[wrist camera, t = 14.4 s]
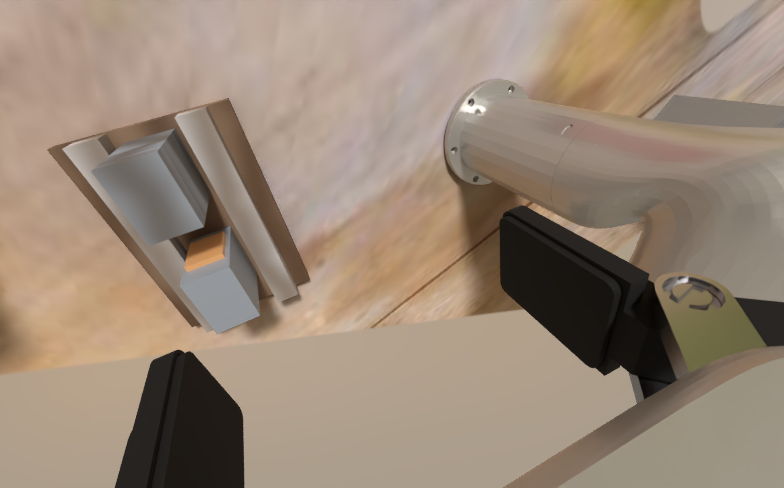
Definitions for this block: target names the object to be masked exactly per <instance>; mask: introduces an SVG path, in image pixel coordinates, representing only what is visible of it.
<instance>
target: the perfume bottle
mask: <svg viewBox="0 0 784 488" xmlns="http://www.w3.org/2000/svg"><path fill="white" fill-rule="evenodd" d="M654 120H659V121H666V122H674V123H682V124H694V125H709V126H725V127H762V128H784V106H775V105H765V104H756V103H746V102H737V101H727V100H717V99H708V98H698V97H689V96H679V95H674V96H673V97H672V99H671V100H670V101H669V102H668V103H667V104H666V106H665V107H664V108H663V109H662V110H661V112H660V113H659V114H658V115H657V116H656V118H655V119H654Z"/></svg>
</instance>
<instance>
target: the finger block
mask: <svg viewBox="0 0 784 488" xmlns="http://www.w3.org/2000/svg"><path fill="white" fill-rule="evenodd" d="M180 287H181V289H182V290H183V291H184V292H185V294H186V295H187V296H188V298H189V299H190V300H191V301H192V303H193V304H194V305H195V306H196V308H197V309H198V310H199V312H200V313H201V314H202V315H203V317H204V318H205V319H206V321H207V322H208V323H209V324H210V326H211V327H212V328H213V330H214V331H215V332H216V333H217V334H218V333H221V332H223V331H225V330H228V329H230V328H232V327H235V326H237V325H239V324H242V323H244V322H246V321H249V320H251V319H253V318H256V317H258V316H260V307H259V296H258V285H257V274H256V269H255V267H254V266H253V264H252V262H251V260H250V259H249V257H248V255H247V253H246V252H245V250H244V248H243V247H242V245H241V243H240V241H239V240H238V238H237V236H236V234H235V233H234V231H233V229H232V227H231V226H229V227H226V228H223V229H221V230H218V231H215V232H212V233H210V234H207V235H204V236H201V237H199V238H196V239H193V240H190V244H189V249H188V253H187V257H186V261H185V266H184V270H183V274H182V278H181V282H180Z"/></svg>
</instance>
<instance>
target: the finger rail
mask: <svg viewBox="0 0 784 488" xmlns="http://www.w3.org/2000/svg"><path fill="white" fill-rule="evenodd" d="M48 151H49V153H50V154H51V155H52V156H53V158H54V159H55V160H56V161H57V162H58V164H59V165H60V166H61V167H62V169H63V170H64V171H65V172H66V174H67V175H68V176H69V177H70V178H71V180H72V181H73V182H74V183H75V185H76V186H77V187H78V188H79V189H80V191H81V192H82V193H83V194H84V196H85V197H86V198H87V199H88V200H89V202H90V203H91V204H92V205H93V207H94V208H95V209H96V210H97V211H98V213H99V214H100V215H101V216H102V218H103V219H104V220H105V221H106V222H107V224H108V225H109V226H110V227H111V229H112V230H113V231H114V232H115V233H116V235H117V236H118V237H119V238H120V240H121V241H122V242H123V243H124V244H125V246H126V247H127V248H128V249H129V251H130V252H131V253H132V254H133V256H134V257H135V258H136V259H137V260H138V262H139V263H140V264H141V265H142V267H143V268H144V269H145V270H146V271H147V273H148V274H149V275H150V276H151V278H152V279H153V280H154V281H155V282H156V284H157V285H158V286H159V287H160V289H161V290H162V291H163V292H164V293H165V295H166V296H167V297H168V298H169V300H170V301H171V302H172V303H173V304H174V306H175V307H176V308H177V309H178V311H179V312H180V313H181V314H182V315H183V317H184V318H185V319H186V320H187V322H188V323H189V324H190V325H191V327H194V326H196V325H199V324H201V325H202V327H203V328H204V329H205V331H206V332H210V331H212V330H213V328H212V327H211V326H210V324H209V323H208V322H207V321H206V319H205V318H204V317H203V315H202V314H201V313H200V312H199V310H198V309H197V308H196V306H195V305H194V304H193V303H192V301H191V300H190V299H189V298H188V296H187V295H186V294H185V292H184V291H183V290H182V289H181V287H180V282H181V278H182V274H183V270H184V266H185V261H186V257H187V253H188V249H189V244H190V240H193V239H196V238H199V237H201V236H204V235H207V234H210V233H212V232H215V231H218V230H221V229H223V228H226V227H229V226H231V227H232V229H233V231H234V233H235V234H236V236H237V238H238V240H239V241H240V243H241V245H242V247H243V248H244V250H245V252H246V253H247V255H248V257H249V259H250V260H251V262H252V264H253V266H254V267H255V269H256V274H257V285H258V296H259V300H260V299H262V298H265V297H267V296H270V295H272V294H273V295H274V297H275V299H276V300H277V302H278V303H279V302H281V301H284V300H286V299H289V298H291V297H293V296H296V295H298V292H297V288H296V284H299V283H301V282H304V281H306V280H309V279H310V278H309V275H308V273H307V270H306V268H305V266H304V264H303V262H302V259H301V257H300V255H299V253H298V251H297V248H296V246H295V244H294V242H293V239H292V237H291V235H290V233H289V231H288V228H287V226H286V224H285V222H284V220H283V217H282V215H281V213H280V211H279V209H278V206H277V204H276V202H275V200H274V198H273V195H272V193H271V191H270V189H269V187H268V184H267V182H266V180H265V178H264V175H263V173H262V171H261V169H260V167H259V164H258V162H257V160H256V158H255V156H254V153H253V151H252V149H251V147H250V145H249V142H248V140H247V138H246V136H245V134H244V131H243V129H242V127H241V125H240V123H239V120H238V118H237V116H236V114H235V111H234V109H233V107H232V105H231V103H230V100H229V98H228V99H224V100H221V101H217V102H213V103H210V104H206V105H202V106H199V107H195V108H191V109H188V110H184V111H181V112H177V113H173V114H170V115H166V116H162V117H159V118H155V119H151V120H148V121H144V122H141V123H137V124H133V125H130V126H126V127H122V128H119V129H115V130H111V131H108V132H104V133H100V134H97V135H93V136H90V137H86V138H82V139H79V140H75V141H71V142H68V143H64V144H60V145H57V146H54V147H52V148H50V149H48Z"/></svg>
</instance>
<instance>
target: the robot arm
mask: <svg viewBox="0 0 784 488" xmlns="http://www.w3.org/2000/svg"><path fill="white" fill-rule="evenodd" d="M444 145H445V155H446V159H447V162H448V164H449V166H450V168H451V170H452V171H453V172H454V174H455V175H456V176H458V177H459V178H460V179H462V180H463V181H465V182H467V183H470V184H473V185H486V184H490V183H493V182H494V183H496V184H498V185H500V186H502V187H504V188H506V189H508V190H510V191H512V192H514V193H516V194H518V195H520V196H521V197H523V198H525V199H527V200H529V201H531V202H533V203H535V204H537V205H539V206H541V207H543V208H545V209H547V210H549V211H551V212H553V213H554V214H556V215H558V216H560V217H562V218H565V219H566V220H568V221H570V222H572V223H575V224H577V225H580V226H583V227H588V228H596V229H601V228H612V227H617V226H622V225H626V224H630V223H634V222H638V221H641V220H643V223H644V227H643V231H642V233H641V236H640V238H639V240H638V242H637V246H636V248H635V250H634V252H633V254H632V256H631V258H630V260H629V262H627V261H625V260H623V259H621V258H619V257H618V256H616V255H614V254H612V253H610V252H608V251H607V250H605V249H603V248H601V247H599V246H597V245H595V244H594V243H592V242H590V241H588V240H586V239H584V238H583V237H581V236H579V235H577V234H575V233H573V232H572V231H570V230H568V229H566V228H564V227H562V226H560V225H559V224H557V223H555V222H553V221H551V220H549V219H548V218H546V217H544V216H542V215H540V214H538V213H536V212H535V211H533V210H531V209H529V208H527V207H525V206H519V207H516V208H514V209H511V210H509V211H507V212H505V213H504V214H503V218H502V219H501V220H500V277H501V286H502V288H503V289H504V291H505V292H506V293H507V294H508V295H509V296H510V297H511V298H513V299H514V300H515V301H516V302H517V303H518V304H519V305H520V306H521V307H523V308H524V309H525V310H526V311H527V312H528V313H529V314H530V315H531V316H533V317H534V318H535V319H536V320H537V321H538V322H539V323H540V324H542V325H543V326H544V327H545V328H546V329H547V330H548V331H549V332H550V333H551V334H553V335H554V336H555V337H556V338H557V339H558V340H559V341H560V342H561V343H562V344H564V345H565V346H566V347H567V348H568V349H569V350H570V351H571V352H572V353H574V354H575V355H576V356H577V357H578V358H579V359H580V360H581V361H583V362H584V363H585V364H586V365H587V366H589V367H591V368H596V369H597V370H599V371H600V372H601V373H602V374H603V375H604V376H605V375H607V374H609V373H610V372H612V371H614V370H615V369H617V368H619V367H620V365H621V366H622V367H623V368H625V369H626V370H627V371H628V372H629V376H630V379H631V383H632V387H633V391H634V394H635V398H636V402H637V404H636V405H635V406H633V407H632V408H630V409H628V410H627V411H625V412H623V413H622V414H620V415H619V416H617V417H615V418H614V419H612V420H611V421H609V422H607V423H606V424H604V425H602V426H601V427H600V428H598V429H596V430H594V431H593V432H591V433H590V434H588V435H586V436H585V437H583V438H582V439H580V440H578V441H577V442H575V443H574V444H572V445H570V446H569V447H567V448H566V449H564V450H562V451H561V452H559V453H558V454H556V455H554V456H553V457H551V458H549V459H548V460H546V461H545V462H543V463H541V464H540V465H538V466H537V467H535V468H533V469H532V470H530V471H529V472H527V473H526V474H524V475H522V476H521V477H519V478H518V479H516V480H514V481H513V482H511V483H510V484H508V485H506V486H505V487H503V488H784V128H762V127H725V126H709V125H694V124H682V123H674V122H666V121H659V120H651V119H643V118H637V117H631V116H625V115H619V114H613V113H607V112H601V111H595V110H589V109H583V108H577V107H571V106H566V105H560V104H554V103H548V102H542V101H536V100H530V99H529V97H528V95H527V93H526V92H525V91H524V89H523V88H522V87H520V86H519V85H518V84H516V83H514V82H511V81H508V80H501V79H497V80H489V81H486V82H483V83H481V84H479V85H477V86H475V87H474V88H472V89H471V90H470V91H469V92H468V93H466V94H465V95H464V97H463V98H462V99H461V100H460V101H459V103H458V104H457V106H456V107H455V109H454V111H453V112H452V115H451V117H450V119H449V122H448V125H447V129H446V133H445V142H444ZM243 445H244V443H243V415H242V412H241V409H240V407H239V406H238V404H237V403H236V402H235V401H234V400H233V399H232V398H231V396H230V395H229V394H228V393H227V392H226V391H225V390H224V388H223V387H222V386H221V385H220V384H219V383H218V382H217V380H216V379H215V378H214V377H213V376H212V375H211V374H210V372H209V371H208V370H207V369H206V368H205V367H204V366H203V365H202V363H201V362H200V361H199V360H198V359H197V358H196V356H195V355H194V354H193V353H192V352H186V353H184V352H183V351H181V350H176V351H173V352H171V353H169V354H166V355H164V356H162V357H159V358H157V359H154V360H153V361H152V362H151V364H150V368H149V371H148V375H147V379H146V382H145V386H144V390H143V393H142V397H141V401H140V404H139V408H138V412H137V415H136V419H135V423H134V426H133V430H132V432H131V434H130V436H129V439H128V442H127V445H126V449H125V453H124V456H123V460H122V464H121V467H120V471H119V475H118V478H117V482H116V485H115V488H244V446H243Z"/></svg>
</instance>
